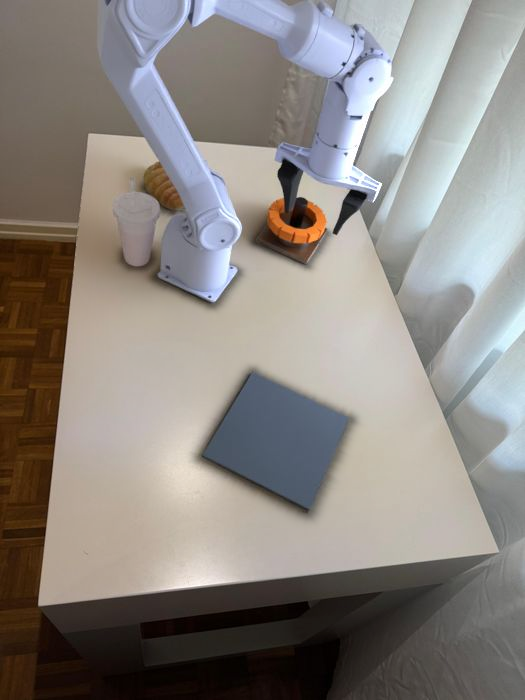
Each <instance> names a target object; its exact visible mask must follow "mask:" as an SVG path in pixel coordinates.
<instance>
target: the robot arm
mask: <svg viewBox="0 0 525 700" xmlns="http://www.w3.org/2000/svg"><path fill="white" fill-rule="evenodd" d="M213 15H218V16H221V17H222V18H225V19H227V20H229V21H232V22H234V23H236V24H238V25H241V26H243V27H246V28H248V29H250V30H253V31H254V32H257V33H259V34H262V35H263V36H266V37H268V38H271V39H273V40H276V41H277V46H278V50H279V53H280V56H281V57H282V58H283V59H285V60H287V61H289V62H291V63H293V64H295V65H297V66H299V67H301V68H303V69H305V70H307V71H310V72H311V73H312V74H315V75H317V76H319V77H321V78H323V79H325V80H328V85H327V89H326V93H325V95H324V100H323V103H322V107H321V111H320V115H319V119H318V123H317V125H316V128H315V129H316V130H315V132H314V136H313V141H312V145H311V148H308V147H304V146H299V145H294V144H290V143H288V142H285V141H282V142H281V143H280V144H279V145H278V146H277V148H276V150H275V156H274V161H275V162H277V163H280V167H279V168H278V170H277V173H276V175H277V176H276V177H277V179H278V181H279V183H280V186H281V190H282V195H283V198H284V212H285V213H287V214H289V212H290V211H291V210H292V208H293V207H294V204H295V201H296V197H297V198H298V191H299V188H300V184H301V180H302V177H303V175H304V173H305V174H306V175H308V176H309V177H310V178H312V179H313V180H315V181H317V182H319V183H321V184H324V185H327V186H334V187H339V188H342V189H343V188H344V189H346V190H349V191H348V192H347V194H346V196H345V197H344V199H343V200H342V203H341V208H340V211H339V215H338V218H337V220H336V222H335V225H334V227H333V230H332V234H333V235H335V236H338V234H339V233H340V231H341V230H342V228H343V225H345V224H346V222H347V221H348V220H349V219H350V218H351V217H352V216H353V215H355V214H356V213H357V212H358V211H360V209H361V208H362V207H363V205H364V204H365V202H366V201H367V202H370V203H374V201H375V200H376V199H377V197H378V194H379V192H380V189H381V187H382V184H383V183H381V182H379V181H377V180H375V179H373V178H372V177H371V176H369V175H368V174H366V173H364V172H363V171H362V170H360V168H358V167H356V166H354V161H355V158H356V155H357V152H358V149H359V146H360V144H361V140H362V138H363V134H364V132H365V129H366V127H367V123H368V120H369V117H370V114H371V111H372V112H373V110H374V108H375V104H376V103H377V102H378V101H377V100H378V99H380V97H381V96H383V95H384V94H385V93H386V91H387V90H388V89H389V88H390V86H391V84H392V82H393V80H394V77H393V76H392V74H391V73H392V67H393V66H392V65H393V64H392V61H391V58H390V56H389V54H388V53H387V52H386V50H385V49H384V48H383V47H382V46H381V44H380V43H379V42H378V40H377V39H376V37H375V36H374V35H373V34H372V32H370V31H369V30H368V29H367V28H365V27H366V26H365V25H364V24H361V23H353V24H349V23H347V22H346V21H344V20H342V19H340V18H338V17H336V16H335V15H334V10H333V9H332V7H331V6H330V5H329V4H328V3H326V2H324V1H323V0H319V1H318V3H317V4H314V3H313V2H311V1H309V0H301V1H299V2H296V3H294V4H292V5H288V4H287V3H285V2H284V1H282V0H97V34H96V35H97V36H96V48H97V53H98V57H99V61H100V65H101V67H102V71H103V73H104V74H105V75H106V77H107V79H108V81H109V82H110V84H111V85H112V87H113V88H114V90H115V92H116V94H117V95H118V97H119V98H120V100H121V102H122V104H123V105H124V106H125V108H126V109H127V110H126V111H127V112H128V113H129V115H130V116H131V118H132V120H133V122H134V123H135V124H136V126H137V128H138V130H139V131H140V133H141V134H142V136H143V138H144V139H145V141H146V142H147V144H148V146H149V147H150V149H151V151H152V152H153V154H154V155H155V157H156V159H157V160H158V162H160V164H161V165H162V167H163V168H164V170H165V172H166V173H167V175H168V177H169V178H170V180H171V182H172V183H173V185H174V186H175V188H176V190H177V191H178V193H179V195H180V198H181V200H182V202H183V205H184V207H185V208H184V209H185V211H186V212H185V214H184V213H181V212H178V213H175V214H173V216H172V217H171V218H170V219H169V221H168V222H167V224H166V225H165V228H164V231H163V233H162V238H161V245H160V271H158V273H157V278H158V279H161V280H163V281H165V282H167V283H169V284H171V285H174V286H175V287H178V288H180V289H181V290H184V291H186V292H187V293H190V294H193V295H195V296H196V297H199V298H201V299H203V300H206V301H208V302H210V303H215V302H216V301H217V300H218V298H219V297H220V296H221V295H222V293H223V292H224V290H225V289H226V288H227V286H228V285H229V284H230V282H231V281H232V280H233V278H234V277H235V276H236V274H237V273H238V268H237V267H236V266H233V265H232V264H230V261H231V256H232V255H231V254H232V248H233V245H234V244H235V243H236V242H237V241H238V240H239V238H240V236H241V234H242V231H243V230H242V227H243V226H242V223H241V220H240V219H239V217H238V216H237V214H236V210H235V208H234V206H233V203H232V201H231V198H230V195H229V192H228V190H227V185H226V182H225V181H226V180H225V179H224V178H223V177H222V176H221V175H220V174H219V173H218V172H216V171H214V170H213V169H212V168H211V167H210V165H209V164H208V162H207V160H205V159H204V158H203V156H202V154H201V152H200V150H199V148H198V146H197V145H196V143H195V140H194V139H193V137H192V135H191V133H190V131H189V129H188V127H187V125H186V123H185V121H184V120H183V118H182V116H181V114H180V112H179V110H178V108H177V106H176V104H175V102H174V100H173V99H172V97H171V95H170V92H169V91H168V89H167V87H166V85H165V83H164V81H163V79H162V78H161V75H160V73H159V71H158V69H157V67H156V66H155V65H154V62H155V60H156V58H157V55H158V54H159V52H160V51H161V50H162V49H163V48H164V47H165V46H166V45H167V44H168V43H169V42H170V40H172V39H173V37H174V36H175V35H176V34H177V33H178V32H179V30H180V29H181V28H182V26H183V25H184V24H185V22H186V21H187V20H188V23H189V25H190V28H195V27H197V26H199V25H200V24H202V23H203V22H205V21H206V20H207V19H209V18H210V17H212V16H213Z"/></svg>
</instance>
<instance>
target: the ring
mask: <svg viewBox="0 0 525 700" xmlns="http://www.w3.org/2000/svg"><path fill="white" fill-rule="evenodd" d="M296 198H298V196H297V197H296ZM306 200H307V201H308V204H307V208H306V211H305V215H307V216H308V217H309V218H310V219H311V220H312V221H313V223H314V226H312V227H310V228H307V229H295V228H293V227H291V226H288V225H286V224H285V223H284V222H283V221H282V220H281V219H280V217H279V215H280V214H281V213H283V212H284V197H281V198H279V199H276V200H275V201H273V202H272V203H271V205H270V206H269V207H268V211H267V215H266V220H267V221H266V222H267V223H268V226H270V227H269V228H270V229H271V230H272V231H273V232H274V233H275V234H276V235H279V237H280V238H282V239H284V240H286V241H289V242H291V240H292V239H293V243H306V242H307V243H310V242H313V241H315V240H318V238H320V237H321V235H322V234H323V232H324V229H325V228H326V227H327V218H326V214H325V213H324V210H323V209H321V208H320V207H319V205H317V204H314V202H312V201H310V200H308V199H306ZM291 211H293V208H292V210H291Z"/></svg>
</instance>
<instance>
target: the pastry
mask: <svg viewBox="0 0 525 700" xmlns="http://www.w3.org/2000/svg"><path fill="white" fill-rule="evenodd" d="M142 177H143V185H144V187H145V189H146V191H147V192H148V193H147V194H148V195H150V196H152V197H154V198H155V199H156V200H157V201H158V203H159V205H161V206H163V207H164V208H166V209H169V210H170V211H179V210H183V209H185V207H184V205H183V202H182V200H181V198H180V195H179V193H178V191H177V190H176V188H175V186H174V185H173V183H172V182H171V180H170V178H169V177H168V175H167V173H166V172H165V170H164V168H163V167H162V165H161V164H160V162H159V161H156V162H154V164H151V165H150V166H148V168H146V170H145V171H144V173H143V175H142Z"/></svg>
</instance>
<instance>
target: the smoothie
mask: <svg viewBox="0 0 525 700" xmlns="http://www.w3.org/2000/svg"><path fill="white" fill-rule="evenodd" d="M160 205H161V204H160V203H159V202H158V201H157V200H156V199H155V198H154V197H152V195H150V194H149V193H146V192H143V191H142V192H141V191H135V178H133V177H131V178H129V192H124V193H122V194H120V195H118V196H117V197H116V198H115V199H114V201H113V203H112V214H113V216H114V218H115V219H116V223H117V228H118V232H119V238H120V243H121V247H122V253H123V257H124V261H125V262H126V263H127V264H128V265H130V266H133V267H142V266H145V265H147V264H148V263H149V262H150V259H151V253H152V249H153V243H154V237H155V232H156V226H157V222H158V220H159V219H160V216H161V206H160Z"/></svg>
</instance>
